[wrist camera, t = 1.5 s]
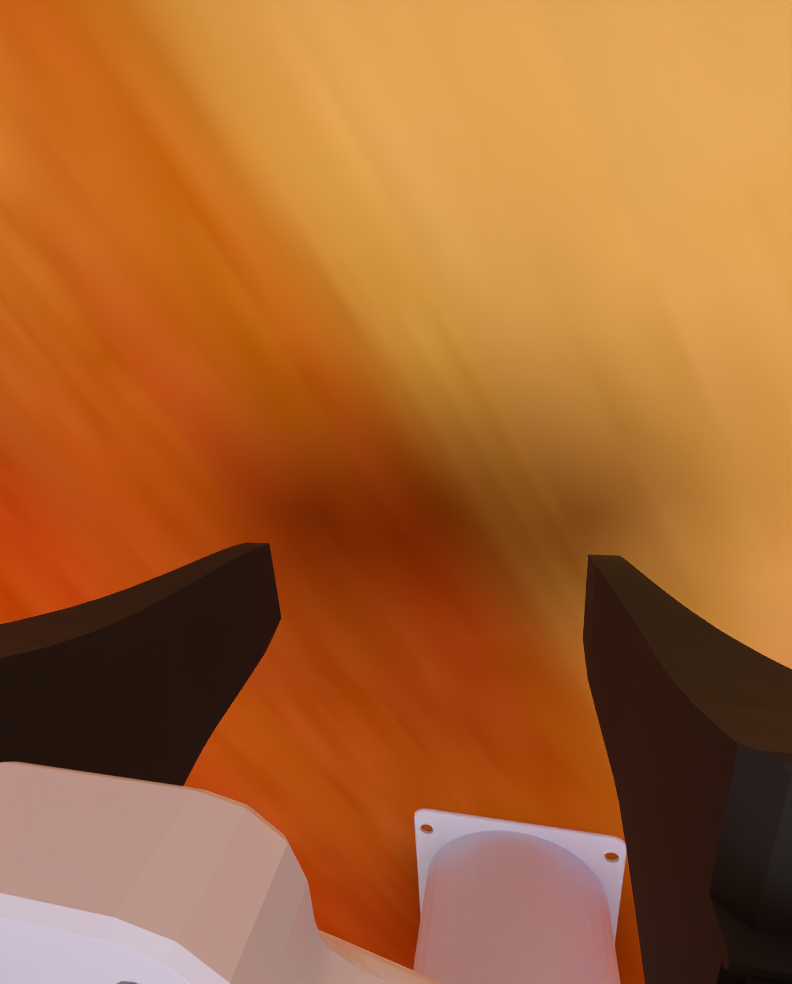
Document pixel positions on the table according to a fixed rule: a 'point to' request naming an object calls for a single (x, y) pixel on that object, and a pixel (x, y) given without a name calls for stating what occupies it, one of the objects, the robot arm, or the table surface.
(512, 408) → the table surface
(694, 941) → the robot arm
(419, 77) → the table surface
